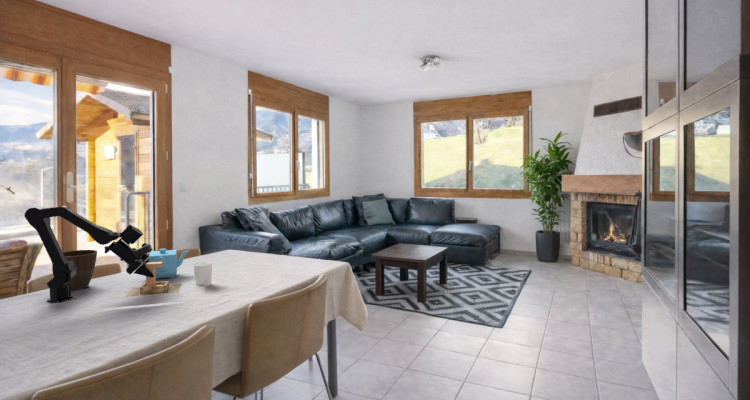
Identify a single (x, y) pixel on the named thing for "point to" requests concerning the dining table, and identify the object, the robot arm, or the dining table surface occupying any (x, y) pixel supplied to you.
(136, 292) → the brown tray
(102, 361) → the dining table surface
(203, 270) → the white cup
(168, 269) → the teakettle
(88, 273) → the plant pot
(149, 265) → the c link
